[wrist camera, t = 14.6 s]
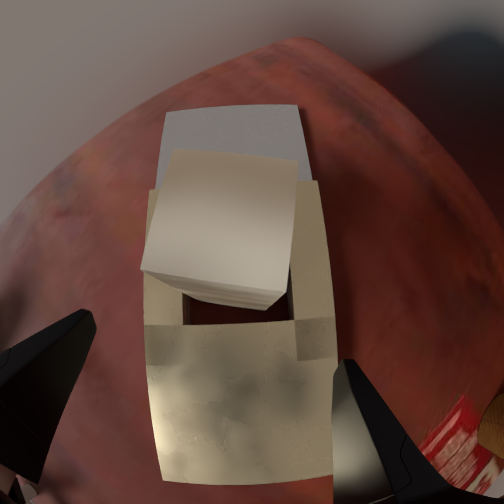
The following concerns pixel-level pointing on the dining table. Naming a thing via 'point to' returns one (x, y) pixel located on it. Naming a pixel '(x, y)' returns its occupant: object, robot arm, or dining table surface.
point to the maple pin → (224, 227)
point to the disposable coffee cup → (493, 427)
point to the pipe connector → (28, 493)
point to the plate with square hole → (245, 334)
